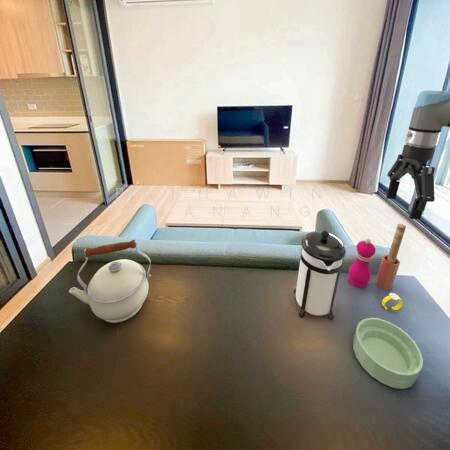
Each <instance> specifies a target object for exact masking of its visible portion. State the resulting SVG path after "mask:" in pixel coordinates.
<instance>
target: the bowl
mask: <svg viewBox="0 0 450 450" xmlns="http://www.w3.org/2000/svg"><path fill="white" fill-rule="evenodd" d="M352 349H353V352H354V355H355V358H356V360H357V361H358V362H359V364H360V365H361V367H362V368H363V369H364V370H365V372H367V373H368V374H369V375H370V376H371V377H372V378H373V379H375V380H376V381H378V382H379V383H380V384H382V385H385V386H387V387H390V388H393V389H401V390H405V389H408V388H412V387H413V386H414V385H415V383H417V381H418V378H419V376H420V374H421V372H422V369H423V365H424V358H423V355H422V351H421V349H420V348H419V346H418V345H417V343H416V341H414V339H413V338H412V337H411V336H410V335H409V334H408V333H407V332H405V330H403V329H402V328H401V327H399V326H398V325H396V324H394V323H393V322H391V321H388V320H385V319H382V318H379V317H366V318H363V319H361V320H360V321H359V322H358V323H357V325H356V328H355V332H354V335H353V340H352Z"/></svg>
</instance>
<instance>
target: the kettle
mask: <svg viewBox="0 0 450 450" xmlns="http://www.w3.org/2000/svg"><path fill="white" fill-rule="evenodd" d="M127 249H135V252H136V253H138V255H140V256H142V257H143V258H145V259H146V260H147V261H148V262H149V266H148V269H147V272H146V269H145V267H144V266H143V265H142V264H141V263H138V262H137V261H134V260H132V259H125V258H123V259H122V258H121V259H116V260H112V261H111V262H108V263H106V264H105V265H103V266H101V267H100V268H99V269H98V270H97V271H96V273H95V274H94V275H93V277H92V278H91V279H90V281H89V282H88V285H86V283H85V282H84V281H83V279H81V277H80V274H81V271H83V269H84V267H85V266H86V265H87V263H88V260H89V258H90V257H91V256H94V255H105V254H110V253H115V252H121V251H124V250H127ZM83 254H84V257H85V261H84V262H83V264H82V265H81V267H80V268H79V270H78V272H77V275H76V279H77V282H78V284H79V285H80V286H81V287H82V288H83V290H82V289H79V288H78V287H74V286H73V287H71V288H70V289H69V290H68V293H70V294H71V295H73V296H74V297H75V298H76V299H78V300H80V301H81V302H83V303H84V304H87V305H89V307H90V310H91V311H92V313H93V314H94V315H95V316H96V317H97V318H98V319H101V320H103V321H105V322H107V323H113V324H114V323H116V324H117V323H122V322H124V321H127V320H129V319H131V318H132V317H134V316H135V315H136V314H137V313H138V312H139V311H140V309H141V308H142V306H143V304H144V303H145V302H146V299H147V296H148V293H149V288H150V287H149V279H150V278H151V276H152V275H151V274H150V271H151V268H152V261H151V258H150V257H149V256H148V255H147V254H146V253H144V252H142V251H141V250H140V249H139V248H138V241H137V240H136V239H132V240H130V241H120V242H116V243H110V244H103V245H99V246H96V247H92V248H91V247H87V248H84V251H83Z"/></svg>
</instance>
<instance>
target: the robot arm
mask: <svg viewBox="0 0 450 450" xmlns="http://www.w3.org/2000/svg"><path fill="white" fill-rule="evenodd" d="M443 127H446V128H450V90H423V91H420V92H419V93H418V94H417V97H416V100H415V103H414V106H413V109H412V114H411V118H410V121H409V125H408V130H407V133H406V136H405V141H404V142H405V144H404V145H403V148H402V150H401V151H402V152H401V154H398V155H397V158H396V160H395V161H394V163H393V165H392V167H391V168H390V169H389V170H388V172H387V175H386V176H387V177H388V178H389V180H390V181H389V185H388V189H387V193H386V197H385V198H386V199H387V200H388V199H389V200H396V198H397V195H398V191H399V188H400V184H401V179H402V178H403V177H404V176H406V175H407V174H408V175H409V176H410V177H411V179H413V183H414V187H415V194H416V197H417V198H414V201H413V204H412V207H411V211H410V214H409V216H408V217H409V219H410V220H421V218H422V215H423V213H424V211H425V209H426V206H427V203H434V202H435V179H434V178H435V177H434V175H435V171H436V168H435V167H434V166H428V162H429V161H431V160H432V159H433V158H434V155H435V151H436V146H438V144H439V143H438V142H439V138H440V136H441V132H442V129H443Z"/></svg>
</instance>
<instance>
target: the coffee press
mask: <svg viewBox="0 0 450 450" xmlns="http://www.w3.org/2000/svg"><path fill="white" fill-rule="evenodd" d="M300 243H301V249H300V255H299V257H300V260H299V267H298V272H297V273H298V274H297V280H296V281H297V282H296V287H295V289H294V290H293V292H294V294H295V299H296V302H297V304H298V306H299V307H300V309H299V311H298V316H300V317H301V318H304V316H305V314H306V313H308V314H309V315H313V316H324V315H325V316H326V317H327V318H328V320H329V321H333V320H334V319H335V315H334V312H333V307H334V302H335V298H336V294H337V289H338V284H339V280H340V275H341V270H342V268H343V264H344V258H345V257H346V252H347V249H346V247H345V245H344V243H343V241H342V240H341V239H340V238H339V237H337V236H336V235H335V234H332V233H330V232H328V231H327V230H314V231H310V232H308V233H307V234H306V235H305V236H303V237H302V238H301V242H300Z"/></svg>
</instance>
